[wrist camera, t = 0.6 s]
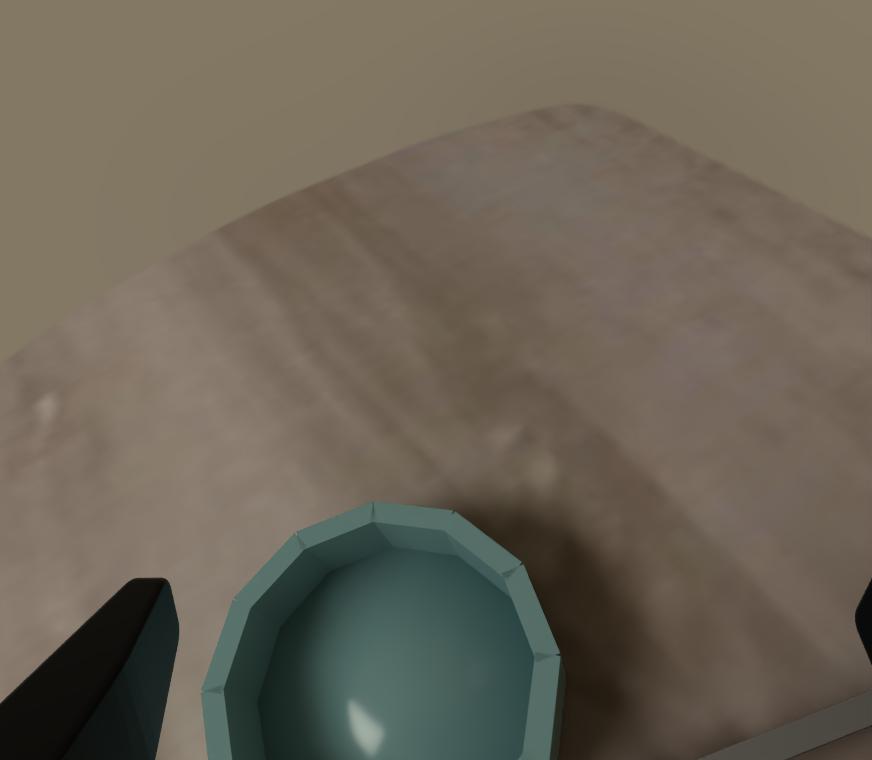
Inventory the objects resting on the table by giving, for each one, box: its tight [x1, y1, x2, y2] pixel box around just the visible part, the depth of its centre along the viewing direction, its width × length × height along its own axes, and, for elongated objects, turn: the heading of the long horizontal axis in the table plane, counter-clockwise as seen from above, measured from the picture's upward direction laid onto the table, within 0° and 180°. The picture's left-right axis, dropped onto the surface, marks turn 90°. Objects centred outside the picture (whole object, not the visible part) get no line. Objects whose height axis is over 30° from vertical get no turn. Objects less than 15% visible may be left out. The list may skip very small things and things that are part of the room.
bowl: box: [201, 501, 567, 760], centre depth 21 cm, size 10×10×3 cm
